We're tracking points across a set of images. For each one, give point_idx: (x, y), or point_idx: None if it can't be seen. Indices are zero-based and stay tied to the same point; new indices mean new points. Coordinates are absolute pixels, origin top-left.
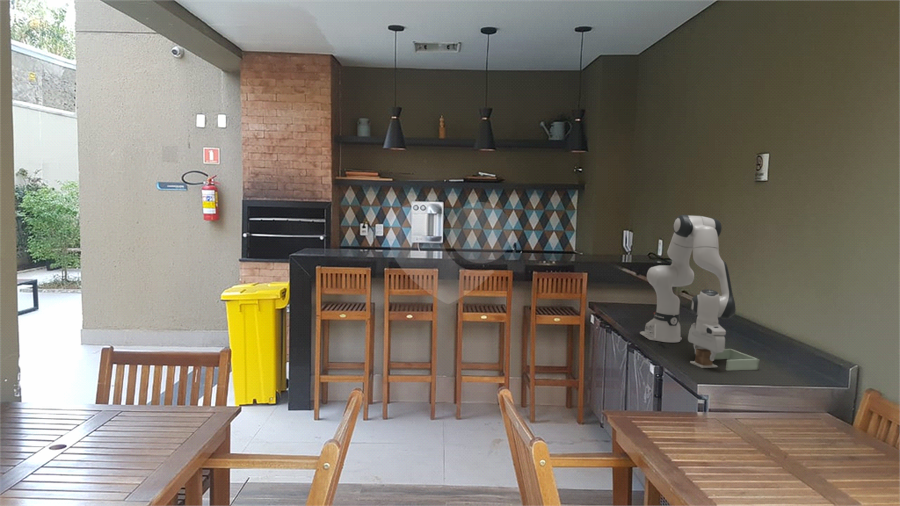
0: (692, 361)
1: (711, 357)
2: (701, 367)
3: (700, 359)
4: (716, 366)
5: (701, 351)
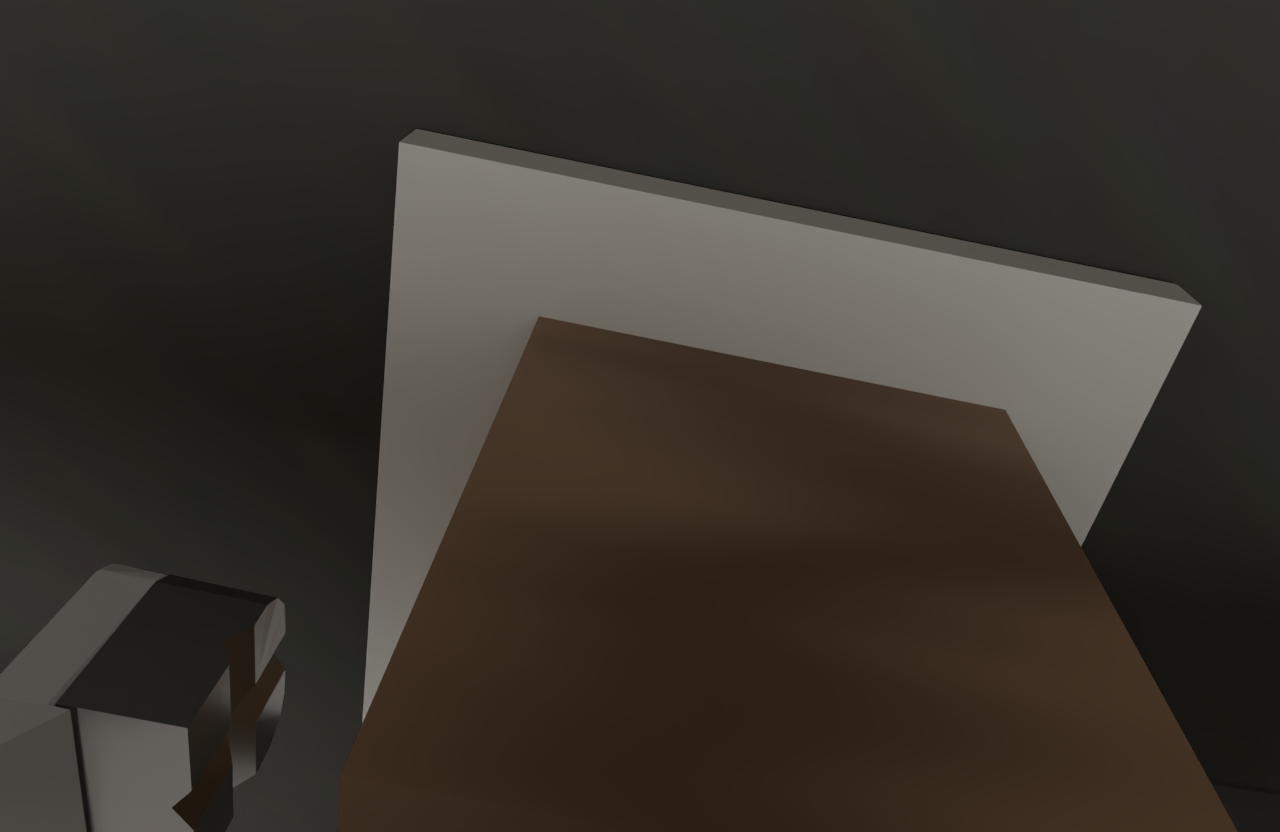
0: (1128, 388)
1: (15, 696)
2: (425, 136)
3: (676, 451)
4: (366, 687)
5: (600, 796)
